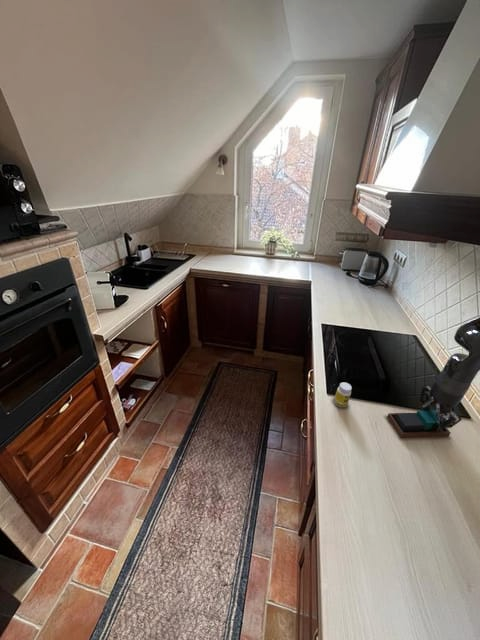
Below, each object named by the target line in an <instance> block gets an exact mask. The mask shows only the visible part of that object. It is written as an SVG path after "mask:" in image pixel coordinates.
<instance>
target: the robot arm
mask: <svg viewBox="0 0 480 640" xmlns="http://www.w3.org/2000/svg"><path fill="white" fill-rule="evenodd" d="M453 335H454V336H453V338H454V341H455V342H456V344H458V345H459V346H460V347H461V348H463V349H464V350H465V351H466V352H468V354H465V353H461V352H457V353H455V352H454V353H453V354H451V355H450V356H449V358H448V359H447V361H446V363H445V364H444V367H443V368H442V370H441V371H440V372H439V374H438V375H437V377H436V379H435V381H434V382H433V384H432V386H431V385H430V386H429V385H427V386H422V388H421V392H420V394H419V395H420V397H419V399H418V401H419V403H422V404H421V409H420V411H422V410H432V409H431V408H433V410H436V416H437V418H436V422H435V423H434V425H433V426H432V428H431V429H432V430H433V431H440V430H441V429H442V428H447V429H452V428H453V427H454V426H456V425H457V424H459V423H460V422H462V419H463V418H462V417H461V416H458V415H457V414H456V412H455V410H456V407H457V406H458V405H459V404H460V403H461V401H462V400H463V398H464V396H465V395H466V393H467V392H468V391H469V389H470V387H471V385H472V383H473V381H474V379H475V378H476V377H477V375H478V373H479V372H480V316H478V317H475V318H473V319H471V320H469V321H467V322H465V323H463V324H462V325H460V326H459V327H458V328H457V329H456V331H454V334H453ZM441 419H442V420H441Z"/></svg>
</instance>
